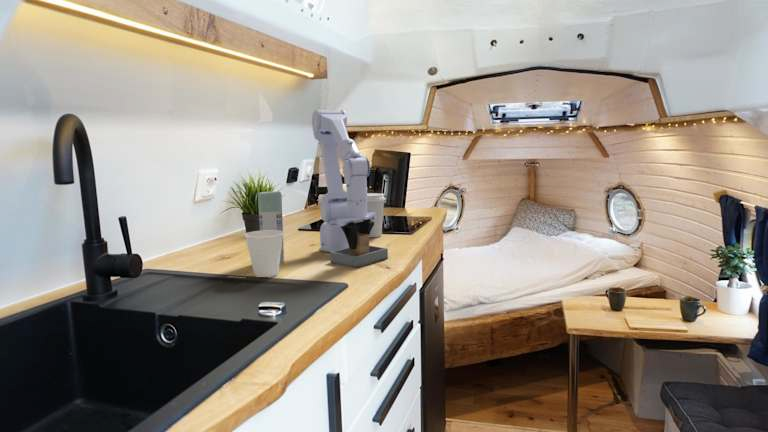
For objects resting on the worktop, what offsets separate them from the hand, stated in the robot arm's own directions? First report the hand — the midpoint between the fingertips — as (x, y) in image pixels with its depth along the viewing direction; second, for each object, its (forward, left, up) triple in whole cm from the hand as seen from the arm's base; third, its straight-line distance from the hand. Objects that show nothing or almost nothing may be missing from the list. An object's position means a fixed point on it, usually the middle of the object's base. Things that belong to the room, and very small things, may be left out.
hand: (358, 247), depth 146 cm
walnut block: (+1, 0, -2) cm, 2 cm away
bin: (0, 0, -4) cm, 4 cm away
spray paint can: (-19, -16, -4) cm, 25 cm away
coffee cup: (-21, +31, -4) cm, 38 cm away
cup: (-9, -26, -4) cm, 27 cm away
